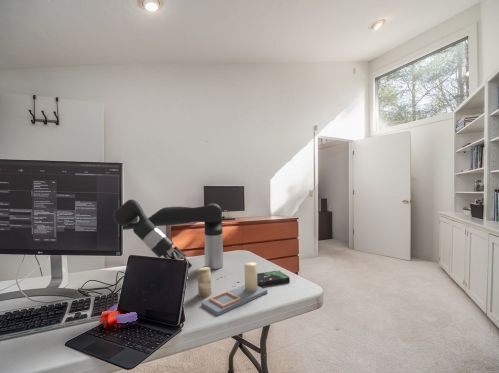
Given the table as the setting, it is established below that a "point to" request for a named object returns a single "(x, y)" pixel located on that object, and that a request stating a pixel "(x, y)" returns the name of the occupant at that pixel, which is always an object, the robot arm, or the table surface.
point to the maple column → (204, 282)
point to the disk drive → (271, 278)
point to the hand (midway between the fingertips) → (187, 271)
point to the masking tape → (124, 316)
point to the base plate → (236, 293)
